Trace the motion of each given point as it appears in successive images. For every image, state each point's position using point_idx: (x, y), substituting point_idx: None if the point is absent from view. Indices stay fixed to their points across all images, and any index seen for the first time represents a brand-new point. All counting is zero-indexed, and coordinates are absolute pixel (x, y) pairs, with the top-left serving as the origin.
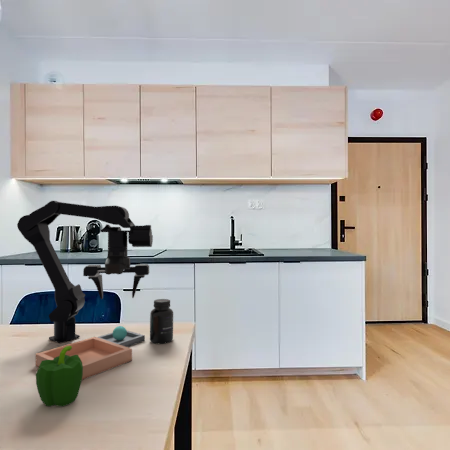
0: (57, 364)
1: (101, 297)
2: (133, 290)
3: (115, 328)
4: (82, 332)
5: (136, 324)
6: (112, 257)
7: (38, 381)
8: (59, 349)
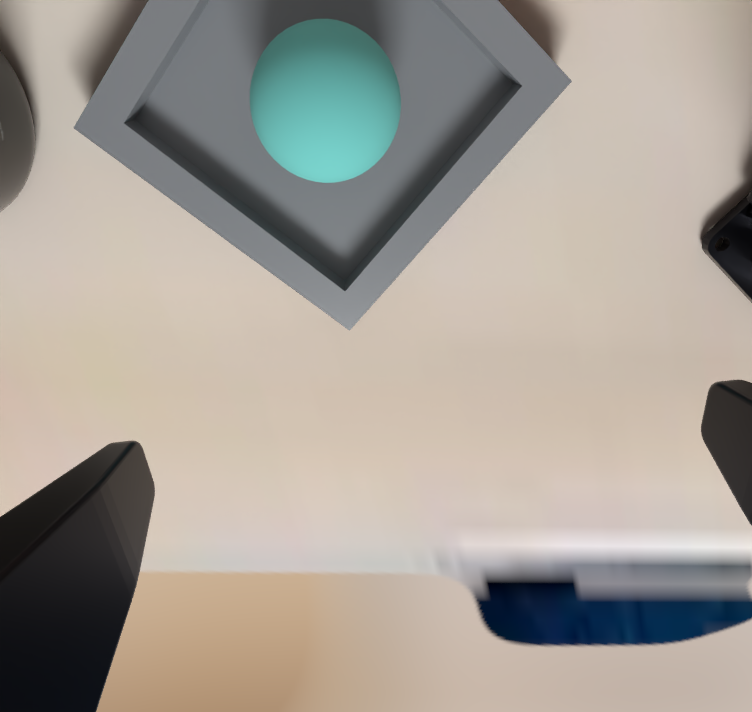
0: None
1: (740, 389)
2: (29, 532)
3: (369, 83)
4: (688, 375)
5: (306, 538)
6: None
7: None
8: None
